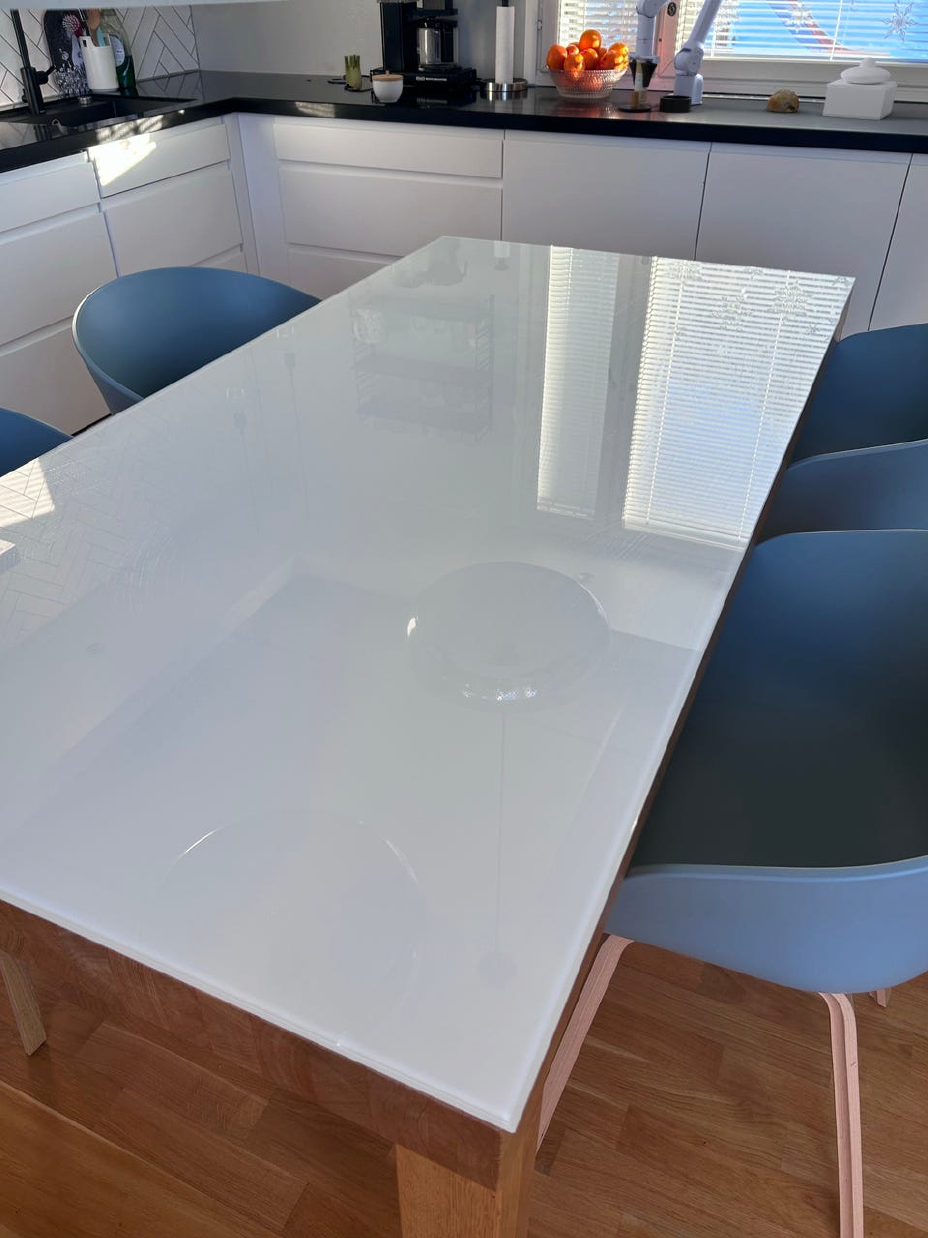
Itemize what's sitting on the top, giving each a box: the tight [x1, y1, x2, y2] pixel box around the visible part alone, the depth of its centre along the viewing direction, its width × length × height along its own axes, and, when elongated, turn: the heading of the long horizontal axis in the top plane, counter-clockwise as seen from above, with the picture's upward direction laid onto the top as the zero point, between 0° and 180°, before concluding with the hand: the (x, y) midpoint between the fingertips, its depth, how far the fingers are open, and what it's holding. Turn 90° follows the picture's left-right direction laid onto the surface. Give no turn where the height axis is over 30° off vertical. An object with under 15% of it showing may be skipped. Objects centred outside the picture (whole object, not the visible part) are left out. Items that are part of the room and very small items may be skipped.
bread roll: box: [765, 89, 800, 114], centre depth 310 cm, size 10×10×8 cm
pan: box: [658, 94, 692, 114], centre depth 312 cm, size 10×10×4 cm
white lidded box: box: [821, 56, 899, 121], centre depth 300 cm, size 18×18×16 cm
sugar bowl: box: [371, 70, 404, 103], centre depth 333 cm, size 11×11×9 cm
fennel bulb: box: [344, 53, 363, 91], centre depth 358 cm, size 6×5×12 cm
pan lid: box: [617, 90, 652, 113], centre depth 312 cm, size 11×11×6 cm
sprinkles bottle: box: [633, 58, 649, 103], centre depth 318 cm, size 5×5×13 cm
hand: (641, 86), depth 319 cm, fingers closed on sprinkles bottle, 4 cm apart
